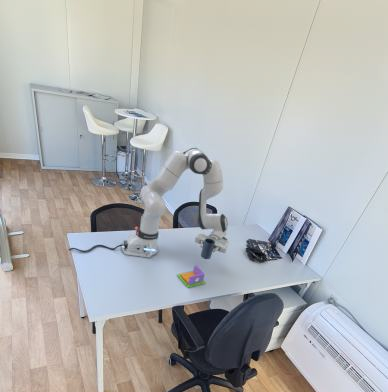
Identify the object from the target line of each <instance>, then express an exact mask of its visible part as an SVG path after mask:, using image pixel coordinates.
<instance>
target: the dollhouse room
mask: <svg viewBox="0 0 388 392" xmlns="http://www.w3.org/2000/svg"><path fill="white" fill-rule="evenodd" d="M177 277H178V278H179V279H180V280H181V281H182V283H183V284H184V285H185V286H186V287H187V288H192V287H193V288H194V287H196V286H200V285H204V284H205V281H204V278H205V272H204V271H203V270H202V269H201V268H200V267H199V266H198V265H197V264H194V265H193V268H192V271H188V272H184V273H179V274H178V275H177Z"/></svg>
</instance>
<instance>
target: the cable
mask: <svg viewBox="0 0 388 392" xmlns="http://www.w3.org/2000/svg"><path fill="white" fill-rule="evenodd" d="M245 251H246V254H247V256H248V258H249V259H250V260H251V261H257V262H259V263H265V262H266V260H267V259H268V258H267V257H268V256H267V254H265V252H263V251H262V250H260V249H257V248H255V247H251V246H247V247H245ZM254 253H255V254H258V255H260V257H258V256H257V255H255V254H254ZM259 253H260V254H259ZM261 254H262V255H261Z"/></svg>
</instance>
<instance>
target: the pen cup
mask: <svg viewBox="0 0 388 392" xmlns="http://www.w3.org/2000/svg"><path fill="white" fill-rule="evenodd" d="M214 245H215V241H214V240H212V239H209V238H207V239H205V240H204V244H203V248H202V247H201V252H200V257H201V258H202V259H204V260H210V259H212V255H213V252H212V251H213V248H214Z"/></svg>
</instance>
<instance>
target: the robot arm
mask: <svg viewBox="0 0 388 392" xmlns="http://www.w3.org/2000/svg"><path fill="white" fill-rule="evenodd" d="M186 170H190V171H191V172H193V173H194V174H197V175H202V178H203V188H201V189H200V191H199V195H198V215H197V226H198V228H199V229H201V230H211V231H212V232H210V233H209V234H208V235H207V234H204V233H198V234H197V235H196V236H195V239H194V243H196V244H198V245H199V247H200V248H201V249H202V248H203V244H204V240H205V239H207V238H209V239H212V240H214V241H215V245H214V248H213V251H212V253H216V252H219V253H222V254H226V253H227V250H228V246H229V241H230V240H229V239H228V238H226V236H227V233H228V226H229V225H228V224H229V223H228V218H227V217H226V215H225V214H223V213H208V212H207V201H208V200H209V199H212V198H214V197H216V196H218V195H219V194H220V193H221V192H222V190H223V188H224V179H223V172H222V167H221V164H220V162H219V161H218V160H217V159H209V157H208V156H207V155H206V154H205V152H204V151H203V150H201V149H199V148H197V147H191V148H189V149H187V150H185V151H184V152H182V151H181V150H175V151H173V152H172V153H171V154H170V155H169V156H168V158H167V159H166V160H165V162H164V163H163V165H162V166H161V168H160V169H159V171H158V173H157V174H156V176H155V177H154V178H153V179H152V180H150V182H149V183H148V184H146V185H144V186H143V187H141V189H140V199H141V201H142V203H143V206H144V211H143V214H142V215H141V217H140V224H139V227H138V226H135V227H134V230H135V231H136V232H135V233H133V234H131V235H129V236H128V237H127V238H126V239H125V240H123V242H122V244H119V245H116V246H115V247H109V246H107V245H104V244H96V245H94V246H92V247H91V248H89V249H87V250H82V249H79V248H76V247H70V248H69V249H68V251H71V250H75V251H78V252H81V253H87V252H90V251H92V250H93V249H95V248H96V247H102V248H105V249H107V250H108V249H109V250H113V251H114V250H116V249H118V248H119V247H121V251H122V252H123V254H124V255H127V256H134V257H142V258H152V257H153V256H154V255H156V254H157V253H158V251H159V250H158V238H159V227H160V221H161V218H162V217H163V215H164V214H166V209H167V204H166V201H165V199H164V198H163V196H164V195H165V194H166V193H167V192H169V191H172V190H173V188H174V187H175V185H176V184H177V183H178V181H179V180H180V178H181V177H182V175H183V173H184V172H185V171H186Z"/></svg>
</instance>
